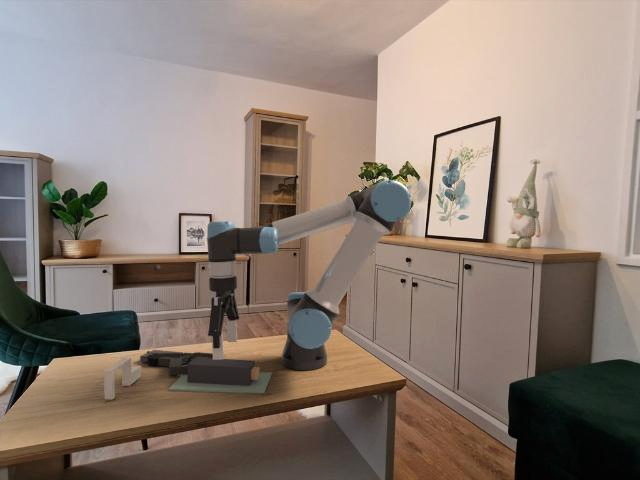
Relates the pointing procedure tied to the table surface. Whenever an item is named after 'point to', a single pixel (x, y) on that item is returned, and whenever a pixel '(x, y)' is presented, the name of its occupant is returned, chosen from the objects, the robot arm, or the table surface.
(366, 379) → the table surface
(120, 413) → the table surface
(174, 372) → the pistol
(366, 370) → the table surface
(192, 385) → the mat
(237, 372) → the dark grey rectangular bar
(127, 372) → the white arch
